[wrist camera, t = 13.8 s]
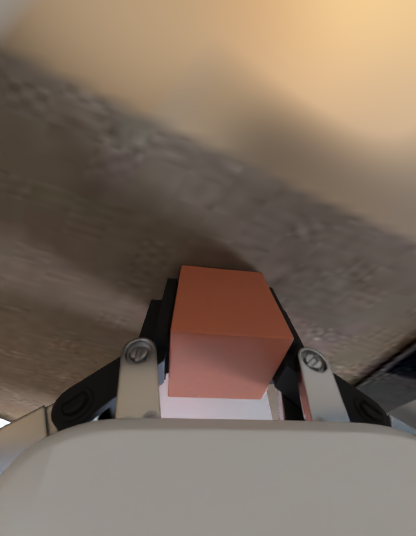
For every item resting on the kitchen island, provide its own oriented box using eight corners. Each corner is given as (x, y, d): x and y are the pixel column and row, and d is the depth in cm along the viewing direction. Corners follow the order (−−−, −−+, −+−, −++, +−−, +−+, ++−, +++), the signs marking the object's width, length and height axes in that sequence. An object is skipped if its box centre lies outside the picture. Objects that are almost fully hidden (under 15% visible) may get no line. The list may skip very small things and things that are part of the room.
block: (181, 264, 11) (170, 331, 7) (261, 272, 11) (295, 338, 7) (177, 323, 13) (167, 397, 9) (243, 327, 13) (261, 400, 10)
